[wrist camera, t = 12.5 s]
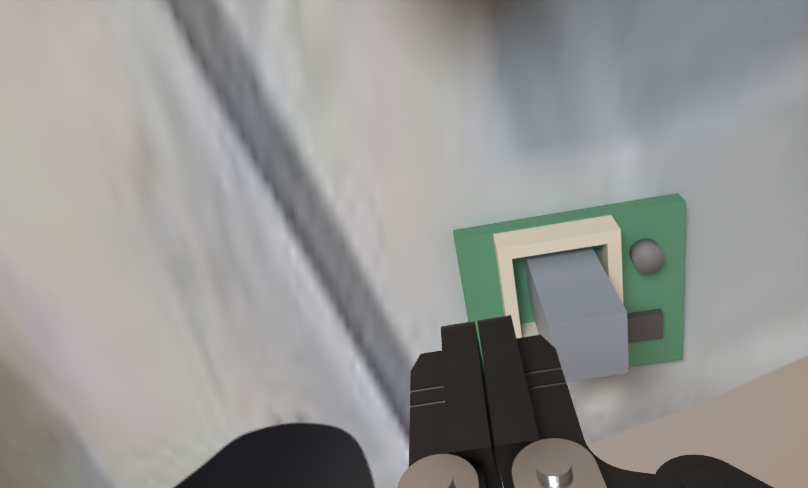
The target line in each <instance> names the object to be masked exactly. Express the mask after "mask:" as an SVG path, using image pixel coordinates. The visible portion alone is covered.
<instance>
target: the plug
mask: <svg viewBox="0 0 808 488" xmlns="http://www.w3.org/2000/svg"><path fill="white" fill-rule="evenodd" d="M524 260H525V269H526V278H527V287H528V296H529V304H530V307H531V310H532V313H533V317H534V320H535V323H536V327H537V330H538V333H539V335H542V336H543V337H544V338H545V339H546V340H547V341H548V342H549V343H550V344H551V345H552V346H554V347H555V348H556V351H557V354H558V358H559V361H560V364H561V368H562V370H563V374H564V377H565V380H566V382H570V381H578V380H585V379H592V378H600V377H607V376H614V375H622V374H629V362H628V325H627V311H626V309H625V307H624V305H623V304H622V302H621V300H620V298H619V296H618V294H617V292H616V291H615V289H614V287H613V285H612V283H611V281H610V280H609V278H608V276H607V274H606V272H605V270H604V268H603V267H602V265H601V263H600V261H599V259H598V257H597V256H596V254H595V252H594V250H593V248H592V246H591V247H584V248H578V249H572V250H565V251H559V252H553V253H546V254H540V255H534V256H527V257H524Z"/></svg>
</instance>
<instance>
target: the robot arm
mask: <svg viewBox="0 0 808 488" xmlns="http://www.w3.org/2000/svg"><path fill="white" fill-rule="evenodd" d="M477 322H478V329H479V336H480V343H481V350H482V355H481V350H480V345H479V340H478V335H477V330H476V325H475V321H472V322H466V323H460V324H454V325H448V326H442V327H441V338H442V351H436V352H430V353H424V354H420V356H419V358H418V360H417V361H416V363H415V365H414V367H413V368H412V370H411V384H410V390H411V393H410V406H411V408H410V443H409V468H408V469H407V470H406V471H405V472H404V474H403V475H402V477H401V479H400V481H399V484H398V488H503V486H504V488H773V487H771V486H769V485H767V484H765V483H764V482H762V481H760V480H758V479H756V478H754V477H752V476H751V475H749V474H747V473H745V472H743V471H741V470H739V469H737V468H736V467H733V466H732V465H730V464H728V463H726V462H724V461H722V460H719V459H716V458H713V457H709V456H704V455H684V456H679V457H676V458H673V459H671V460H669V461H667V462H666V463H664V464H663V465H662V466H661V467H660V468H659V469H658V470H657V472H656V474H648V473H640V472H633V471H628V470H623V469H619V468H616V467H613V466H611V465H609V464H607V463H605V462H603V461H602V460H600V459H599V458H598V457H597V456H595V455H594V454H593V453H592V452H591V450H590V449H589V448H588V446H587V445H586V442H585V440H584V438H583V434H582V431H581V428H580V425H579V422H578V418H577V415H576V412H575V409H574V406H573V402H572V399H571V396H570V393H569V390H568V386H567V384H566V380H565V377H564V374H563V370H562V368H561V364H560V361H559V358H558V354H557V351H556V348H555V347H554V346H552V345H551V344H550V343H549V342H548V341H547V340H546V339H545V338H544V337H543V336H542V335H535V336H528V337H522V338H516V334H515V330H514V326H513V321H512V317H511V315H508V316H502V317H496V318H489V319H483V320H477ZM482 357H483V360H482ZM483 364H484V365H483ZM501 477H502V478H501ZM502 482H503V485H502Z"/></svg>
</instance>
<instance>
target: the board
mask: <svg viewBox="0 0 808 488" xmlns="http://www.w3.org/2000/svg"><path fill="white" fill-rule="evenodd" d="M453 233H454V240H455V246H456V252H457V258H458V264H459V269H460V275H461V281H462V287H463V293H464V299H465V304H466V310H467V316H468V322H472V321H475V325H476V330H477V335H478V340H479V345H480V350H481V343H480V336H479V329H478V322H477V320H483V319H489V318H496V317H502V316H508V315H511V317H512V321H513V326H514V330H515V334H516V338H522V337H528V336H535V335H539V333H538V330H537V327H536V323H535V320H534V317H533V313H532V310H531V307H530V304H529V296H528V287H527V278H526V269H525V260H524V257H527V256H534V255H540V254H546V253H553V252H559V251H565V250H572V249H578V248H584V247H591V246H592V248H593V250H594V252H595V254H596V256H597V257H598V259H599V261H600V263H601V265H602V267H603V268H604V270H605V272H606V274H607V276H608V278H609V280H610V281H611V283H612V285H613V287H614V289H615V291H616V292H617V294H618V296H619V298H620V300H621V302H622V304H623V305H624V307H625V309H626V311H627V325H628V362H629V367H630V366H637V365H644V364H651V363H658V362H666V361H673V360H680V359H683V312H684V256H685V200H684V199H683V198H682V197H681V196H680V195H679V194H672V195H666V196H659V197H653V198H647V199H641V200H635V201H629V202H623V203H617V204H611V205H605V206H599V207H593V208H586V209H580V210H574V211H568V212H562V213H556V214H550V215H544V216H538V217H532V218H526V219H520V220H513V221H507V222H501V223H495V224H489V225H483V226H477V227H471V228H465V229H459V230H453ZM481 355H482V350H481ZM482 360H483V357H482ZM483 365H484V364H483Z"/></svg>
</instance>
